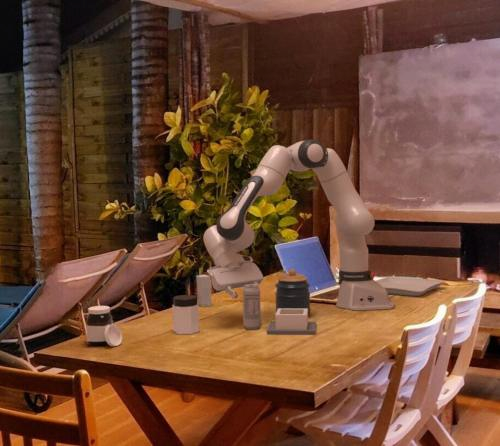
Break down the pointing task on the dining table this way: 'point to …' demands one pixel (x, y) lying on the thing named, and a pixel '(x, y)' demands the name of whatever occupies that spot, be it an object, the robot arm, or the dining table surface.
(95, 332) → the spread jar
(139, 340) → the dining table surface
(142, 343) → the dining table surface
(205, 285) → the skincare box
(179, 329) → the jar
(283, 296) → the canister
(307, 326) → the sleeve mount
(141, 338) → the dining table surface
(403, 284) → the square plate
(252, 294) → the energy drink can
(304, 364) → the dining table surface
